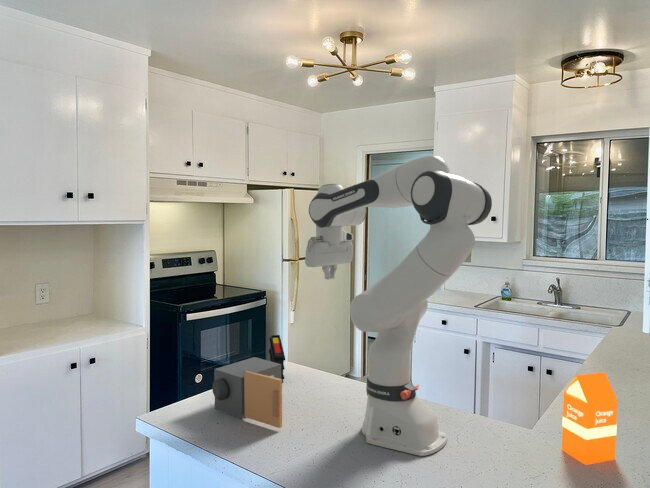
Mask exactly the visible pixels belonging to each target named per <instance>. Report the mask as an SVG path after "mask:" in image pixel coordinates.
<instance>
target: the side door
mask: <svg viewBox="0 0 650 488" xmlns="http://www.w3.org/2000/svg"><path fill="white" fill-rule="evenodd" d="M244 416H245V417H246V418H245V419H250V420H252V421H256V422H259V423H263V424H265V425H269V426H270V427H271V426H272V427H275V428H278V429H280V428H283V383H282V379H279V378H275V377H271V376H266V375H262V374H258V373H254V372H250V371H247V370H244Z"/></svg>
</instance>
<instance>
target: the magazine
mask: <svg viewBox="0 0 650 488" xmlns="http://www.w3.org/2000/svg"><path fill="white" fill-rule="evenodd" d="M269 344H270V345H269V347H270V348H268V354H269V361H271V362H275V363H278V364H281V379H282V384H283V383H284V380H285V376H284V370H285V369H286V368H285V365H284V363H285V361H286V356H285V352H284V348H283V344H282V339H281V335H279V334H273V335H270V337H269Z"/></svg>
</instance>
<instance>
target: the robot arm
mask: <svg viewBox="0 0 650 488" xmlns="http://www.w3.org/2000/svg"><path fill="white" fill-rule="evenodd" d="M309 203H310V204H309V206H308V215H309V217H310V219H311V221H312V222H313V223H314V225H315V236H311V237H310V238H309V239H308V240H307V244H306V247H305V256H304V257H305V258H304V259H305V260H304V264H305V265H306V267H308V268H320V267H322V271H323V273H324V280H334V279H335V277H336V276H335V274H336V271H337V268H338V265H342V264H349V263H352V261H353V259H354V246H353V245H354V244H353V240H354V234H353V233H350V232H349V231H347V230H345V229H344V228H345V227H355V226H357V225H361V224H362V223H363V222H364V221H365V219H366V217H367V212H368V210H367V209H368V208H376V207H377V208H389V209H390V208H392V209H396V208H404V207H410V206H413V208H414V209H415V211H416V212H417V213H418V215H419V218H420V221H421V222H422V223H424V224H426V225H429V226H430V227H429V230H428V232H427V233H426V235H425V236H424V237H423V238H422V239H421V240H420V241H419V242H418V243H417V245H416V246H415V247H414V248H413V249H412V250H411V251H410V252H409V253H408V255H407V256H406V257H405V258H404V259H403V260H402V261H401V262H400V263H399V264H398V265H397V266H396V267H395V268H393V269H392V270H390V271H388V273H386V274H385V275H384V276H383V277H381V278H380V279H379V280H378V281H376V282H375V283H373V285H371V286H370V287H369V288H367V289H365V290H363V291H362V292H361V293H359V294H358V295H356V296H355V297H354V298H352V300H351V302H350V304H349V317H350V320H351V322H352V323H353V325H354V327H356V329H358V330H359V331H360V332H364V333H377V335H376V337H375V340H374V341H373V342H372V344H371V345H370V347H369V349H368V358H367V360H368V364H367V365H368V369H367V370H368V371H367V373H368V375H367V378H366V388H365V389H366V395H367V400H366V401H367V402H366V407H365V409H366V410H365V414H364V420H363V423H362V426H361V433H362V434H363V435H364V436H365V441H366V443H367V444H370V445H373V446H377V447H381V448H387V449H389V450H390V449H391V450H394V451H398V452H403V453H407V454H411V455H415V456H420V457H424V456H429V455H432V454H435V453H437V452H439V451H440V450H441V449H442V448H443V447H445V446H446V444H447V443H448V434H447V433H446V432H444V431H442V430H440V428H439V422H438V418H437V416H436V413H435V412H434V411H433V410H432V409H430V407H428V406H427V404H425V403H424V402H423V401H422V399H420V397H419V396H417V392H416V391H418V390H419V389H420V384H416V385H414V384H413V381H412V379H411V364H412V363H411V359H412V358H411V357H412V349H413V344H414V340H415V336H416V334H417V331H418V327H419V324H420V321H421V320H422V318H423V317H424V315H425V314H426V312H427V310H428V299H429V298H431V296H433V295H434V294H435V293H436V292H437V291H438V290H439V289H440V288H441V287H442V286H443V285H444V284H445V283H446V282H447V281H448V280H450V278H451V277H452V276H453V275H454V274H455V273H456V271H457V270H458V269H459V268H460V267H461V266H462V265H463V264H464V262H466V260H467V258H468V257H469V256H470V253H471V252H472V251H473V249H474V248H475V244H476V237H475V234H474V233H473V231H472V229H471V228H470V226H474V225H478V224H481V223H483V222H484V221H485V220H486V219H487V218H488V216H489V214H490V213H491V211H492V205H493V201H492V195H490V192H489V191H488V190H487V188H485V187H483V186H482V185H480V184H479V183H477V182H475V181H470V180H468V179H466V178H464V177H463V176H459V175H455V174H452V173H451V172H450V168H449V165H448V164H447V162H446V161H445V160H444V159H443V158H441V156H437V155H435V154H432V155H431V154H429V155H425V156H421V157H418V158H414V159H412V160H408V161H406V162H403V163H402V164H399V165H397V166H395V167H393V168H392V169H389V170H387V171H385V172H383V173H381V174H378V175H376V176H374V177H371V178H369V179H367V180H364V181H362V182H359V183H357V184H353V185H351V186H348V187H345V188H344V187H343V185H342V184H339V183H329V184H323V185H321V186H320V187H319V188H318V190H317V194H316V195H315V196H314V197H313V198H312V199H311V201H310V202H309Z"/></svg>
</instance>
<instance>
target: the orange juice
mask: <svg viewBox="0 0 650 488" xmlns="http://www.w3.org/2000/svg"><path fill="white" fill-rule="evenodd" d="M562 407H563V408H562V426H561V427H562V428H561V429H562V432H561V434H562V435H561V451H563V452H564V453H566V454H567V455H569V456H571V457H572V458H573V459H575V460H577V461H578V462H580V463H582V464H583V465H592V464H593V465H594V464H597V463H604V462H609V461H616V445H617V444H616V443H617V433H618V432H617V431H618V430H617V429H618V428H617V427H618V425H617V424H618V423H617V422H618V421H617V420H618V419H617V418H618V399H617V397H616V394H615V392H614V390H613V387H612V385H611V384H610V381H609V378H608V376H607V374H606V372H605V371H603V372H594V373H587V374H578V375H576V376H575V377H574V378H573V379H572V381H571V382H570V384H569V385H568V386H567V388H566V389H565V390H564V391H563V403H562Z"/></svg>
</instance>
